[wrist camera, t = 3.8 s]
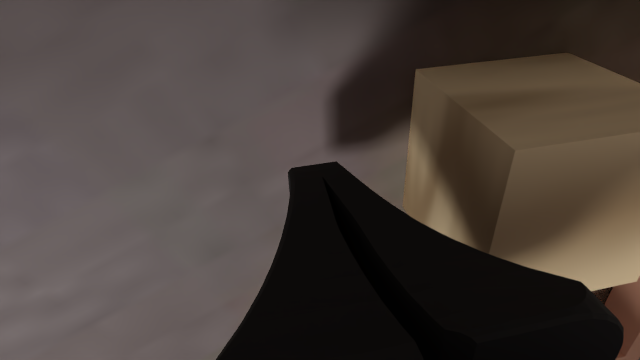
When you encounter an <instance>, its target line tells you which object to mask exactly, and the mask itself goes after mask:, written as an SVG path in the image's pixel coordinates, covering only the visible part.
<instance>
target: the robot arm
mask: <svg viewBox="0 0 640 360" xmlns="http://www.w3.org/2000/svg"><path fill="white" fill-rule="evenodd" d="M288 179H289V190H290V199H289V206H288V213H287V218H286V222H285V225H284V229H283V233H282V237H281V240H280V243H279V246H278V249H277V252H276V255H275V258H274V260H273V263H272V265H271V267H270V270H269V272H268V274H267V276H266V279H265V281H264V283H263V285H262V287H261V289H260V291H259V293H258V295H257V297H256V298H255V300H254V302H253V304H252V305H251V307H250V309H249V311H248V312H247V314H246V316H245V318H244V319H243V321H242V323H241V324H240V326H239V327H238V329H237V330H236V332H235V333H234V334H233V336H232V337H231V339H230V340H229V342H228V343H227V344H226V346H225V347H224V349H223V350H222V352H221V353H220V354H219V356H218V357H217V359H216V360H615V359H616V357H617V356H618V354H619V352H620V349H621V347H622V344H623V339H624V327H623V326H622V324H621V323H620V321H619V319H618V318H617V317H616V316H615V315H614V314H613V313H612V312H611V311H610V310H609V309H608V308H607V307H606V306H605V305H604V304H603V303H602V302H601V301H600V300H599V299H598V298H597V297H596V296H595V295H594V294H593V293H592V292H591V291H590V290H589V289H588V288H587V287H586V286H585V285H584V284H583V283H582V282H580V281H577V280H573V279H569V278H565V277H562V276H558V275H554V274H550V273H547V272H543V271H539V270H536V269H532V268H528V267H525V266H522V265H519V264H516V263H513V262H510V261H507V260H504V259H501V258H498V257H496V256H493V255H490V254H488V253H485V252H482V251H480V250H477V249H475V248H473V247H470V246H468V245H466V244H463V243H461V242H459V241H456V240H454V239H452V238H450V237H448V236H446V235H443V234H441V233H440V232H438V231H436V230H434V229H432V228H430V227H428V226H426V225H424V224H423V223H421V222H419V221H417V220H416V219H414V218H412V217H410V216H409V215H407V214H406V213H404V212H403V211H401V210H399V209H398V208H396V207H395V206H393V205H392V204H390V203H389V202H387V201H386V200H385V199H383V198H382V197H380V196H379V195H378V194H376V193H375V192H374V191H372V190H371V189H370V188H368V187H367V186H366V185H365V184H363V183H362V182H361V181H360V180H358V179H357V178H356V177H355V176H354V175H352V174H351V173H350V172H349V171H347V170H346V169H345V168H344V167H343V166H341V165H340V164H339V163H338V162H330V163H323V164H316V165H309V166H302V167H295V168H291V169H290V170H289V172H288Z"/></svg>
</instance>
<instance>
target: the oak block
mask: <svg viewBox="0 0 640 360" xmlns="http://www.w3.org/2000/svg"><path fill="white" fill-rule="evenodd" d="M403 208H404V209H405V211H406V212H407V214H408V215H409V216H410V217H412V218H414V219H416V220H417V221H419V222H421V223H423V224H424V225H426V226H428V227H430V228H432V229H434V230H436V231H438V232H440V233H441V234H443V235H446V236H448V237H450V238H452V239H454V240H456V241H459V242H461V243H463V244H466V245H468V246H470V247H473V248H475V249H477V250H480V251H482V252H485V253H488V254H490V255H493V256H496V257H498V258H501V259H504V260H507V261H510V262H513V263H516V264H519V265H522V266H525V267H528V268H532V269H536V270H539V271H543V272H547V273H550V274H554V275H558V276H562V277H565V278H569V279H573V280H577V281H580V282H582V283H583V284H584V285H585V286H586V287H587V288H588V289H589V290H590V291H595V290H599V289H604V288H609V287H613V286H618V285H623V284H627V283H632V282H637V280H638V278H639V276H640V83H638V82H636V81H634V80H631V79H629V78H627V77H624V76H622V75H619V74H617V73H615V72H612V71H610V70H608V69H605V68H603V67H601V66H598V65H596V64H594V63H591V62H589V61H587V60H584V59H582V58H580V57H577V56H575V55H573V54H570V53H568V52H567V53H558V54H549V55H540V56H531V57H522V58H513V59H504V60H495V61H485V62H476V63H467V64H458V65H449V66H440V67H431V68H422V69H416V71H415V82H414V92H413V103H412V113H411V124H410V135H409V145H408V156H407V166H406V177H405V187H404V198H403Z"/></svg>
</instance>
